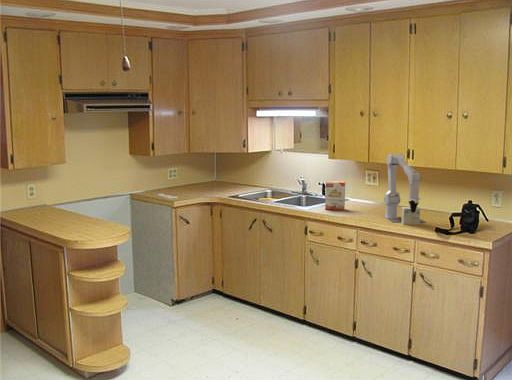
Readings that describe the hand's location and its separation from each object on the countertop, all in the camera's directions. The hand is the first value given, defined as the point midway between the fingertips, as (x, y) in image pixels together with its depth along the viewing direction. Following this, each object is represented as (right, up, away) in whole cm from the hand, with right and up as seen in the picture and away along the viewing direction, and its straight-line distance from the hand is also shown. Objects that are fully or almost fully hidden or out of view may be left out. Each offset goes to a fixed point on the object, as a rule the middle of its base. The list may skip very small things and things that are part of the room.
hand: (413, 212), depth 355 cm
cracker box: (-42, 0, +55) cm, 70 cm away
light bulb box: (0, -8, +6) cm, 10 cm away
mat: (0, -7, +14) cm, 16 cm away
